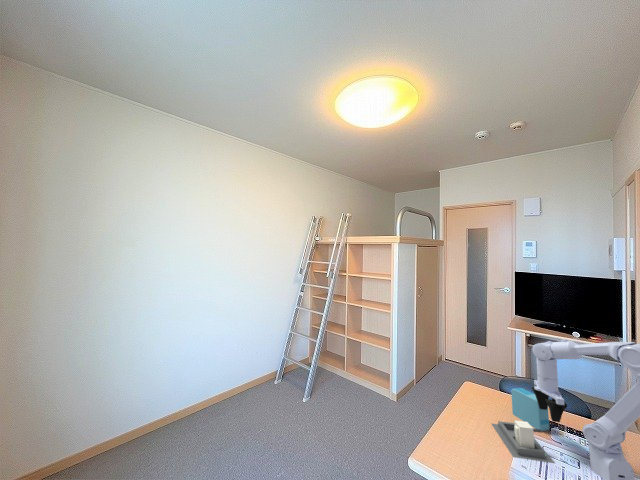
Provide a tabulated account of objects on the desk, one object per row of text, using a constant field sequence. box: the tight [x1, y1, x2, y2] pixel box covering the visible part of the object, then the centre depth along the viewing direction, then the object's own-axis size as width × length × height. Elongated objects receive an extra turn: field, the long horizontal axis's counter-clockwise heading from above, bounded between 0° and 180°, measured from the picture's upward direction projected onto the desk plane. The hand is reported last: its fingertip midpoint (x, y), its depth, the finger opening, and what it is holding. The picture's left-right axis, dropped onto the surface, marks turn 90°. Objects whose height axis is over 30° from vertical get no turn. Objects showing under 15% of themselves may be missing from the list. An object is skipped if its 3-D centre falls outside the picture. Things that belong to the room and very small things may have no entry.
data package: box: [510, 387, 550, 432], centre depth 108 cm, size 12×4×12 cm, turn 11°
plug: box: [513, 419, 543, 449], centre depth 92 cm, size 4×8×8 cm, turn 76°
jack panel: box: [491, 421, 556, 464], centre depth 96 cm, size 19×12×3 cm, turn 166°
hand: (549, 414), depth 96 cm, fingers open, 7 cm apart
